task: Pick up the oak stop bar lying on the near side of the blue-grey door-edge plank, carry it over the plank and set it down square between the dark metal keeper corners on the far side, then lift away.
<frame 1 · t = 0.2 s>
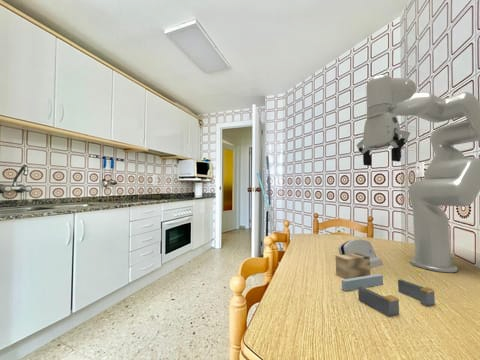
hand: (380, 163, 69), 36 cm above the table, tool pointing down, fingers open, 9 cm apart
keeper: (393, 301, 49), on the table
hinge: (359, 265, 76), on the table
stop bar: (353, 275, 65), on the table
plank: (363, 286, 57), on the table
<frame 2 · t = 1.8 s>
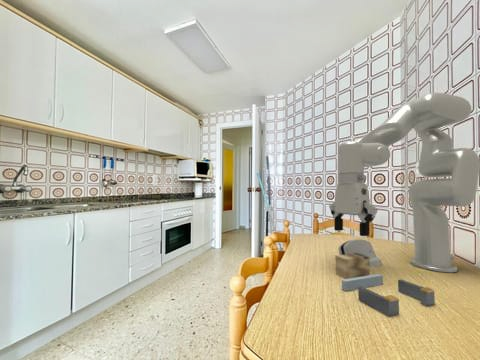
hand: (350, 232, 66), 13 cm above the table, tool pointing down, fingers open, 9 cm apart
nothing on the table moved.
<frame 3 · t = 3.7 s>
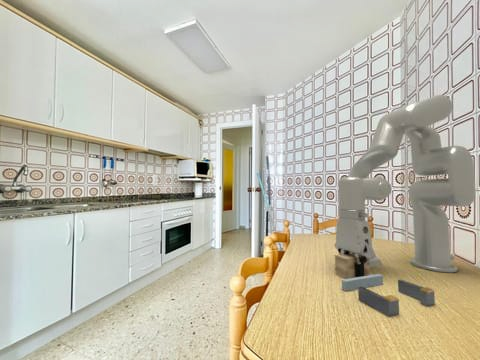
hand: (352, 273, 65), 1 cm above the table, tool pointing down, fingers closed on stop bar, 4 cm apart
stop bar: (352, 275, 65), on the table, touching gripper
everything else where it was.
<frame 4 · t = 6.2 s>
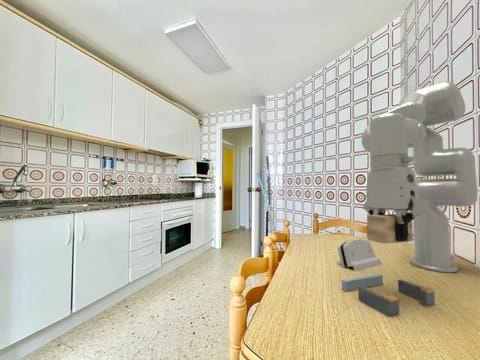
hand: (391, 238, 50), 15 cm above the table, tool pointing down, fingers closed on stop bar, 4 cm apart
stop bar: (390, 240, 50), point 14 cm above the table, touching gripper
everything else where it was.
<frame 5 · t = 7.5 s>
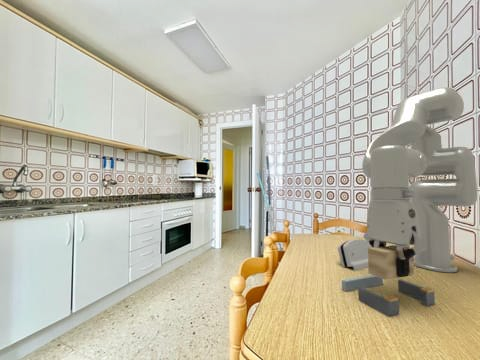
hand: (392, 271, 49), 7 cm above the table, tool pointing down, fingers closed on stop bar, 4 cm apart
stop bar: (391, 274, 49), point 6 cm above the table, touching gripper
everything else where it was.
when the fingers open (2 cm above the table, at t = 8.8 s): stop bar drops 1 cm, on the table.
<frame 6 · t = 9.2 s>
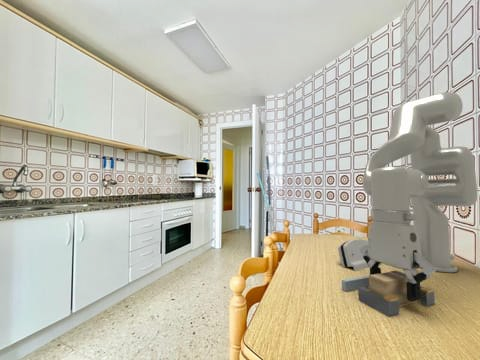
hand: (393, 291, 49), 2 cm above the table, tool pointing down, fingers open, 8 cm apart
stop bar: (392, 301, 49), on the table
everything else where it was.
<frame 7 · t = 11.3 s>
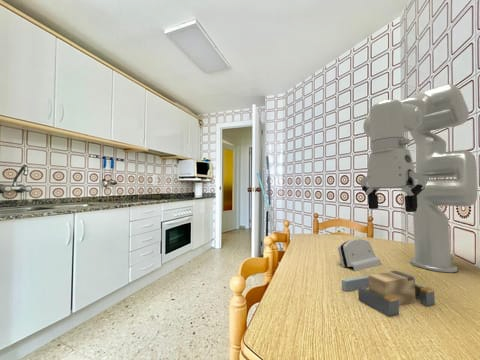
hand: (390, 210, 56), 21 cm above the table, tool pointing down, fingers open, 9 cm apart
nothing on the table moved.
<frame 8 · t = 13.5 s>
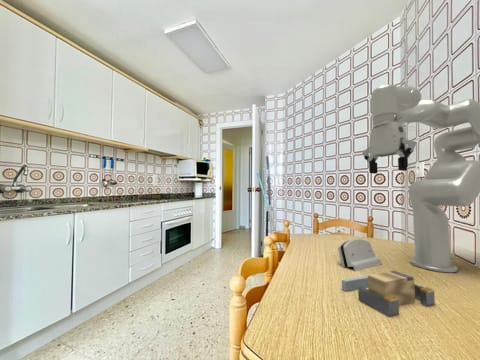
hand: (387, 171, 70), 33 cm above the table, tool pointing down, fingers open, 9 cm apart
nothing on the table moved.
at the end: stop bar 0.5 cm from the target spot, on the table; stop bar tilted 0°; the gripper is holding nothing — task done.
